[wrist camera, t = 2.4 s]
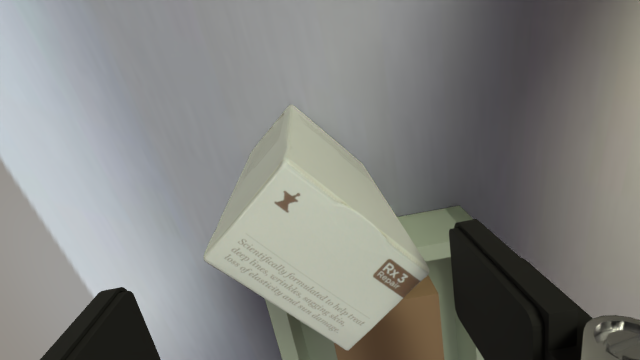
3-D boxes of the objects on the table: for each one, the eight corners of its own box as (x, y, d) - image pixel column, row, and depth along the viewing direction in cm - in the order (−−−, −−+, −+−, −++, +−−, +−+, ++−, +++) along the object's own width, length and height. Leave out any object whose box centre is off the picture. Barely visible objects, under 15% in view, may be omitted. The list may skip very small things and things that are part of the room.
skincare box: (247, 155, 22) (183, 265, 11) (293, 98, 21) (277, 150, 9) (324, 213, 23) (341, 365, 12) (370, 162, 22) (437, 275, 11)
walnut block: (412, 246, 24) (438, 293, 19) (420, 318, 26) (445, 377, 21) (323, 262, 24) (327, 313, 19) (338, 332, 26) (345, 394, 21)
